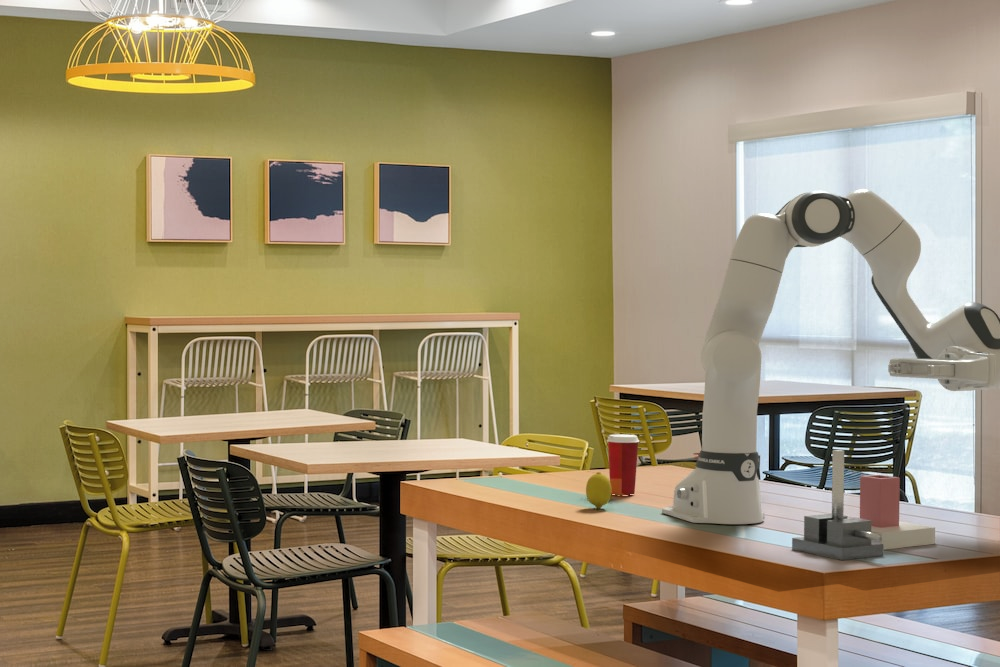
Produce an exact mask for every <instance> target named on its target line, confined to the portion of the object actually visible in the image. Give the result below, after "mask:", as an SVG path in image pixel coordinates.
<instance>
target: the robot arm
mask: <svg viewBox="0 0 1000 667" xmlns="http://www.w3.org/2000/svg"><path fill="white" fill-rule="evenodd" d="M838 238H842V239H844V240H846V242H848V243H850V244H852V245H853V247H854V248H855V249H856V251H857V252H858V253H859V254H860V255H861V256H862V257H863V258H864V259H865V261H866V262H867V264H868V266H869V267H870V270H871V273H872V276H871V279H870V280H871V285H872V288H873V289H874V292H875V294H876V295H877V297H878V299H879V300H880V302H881V303H882V304H883V306H884V307H885V309H886V311H887V312H888V313H889V315H890V316H891V318H892V319H893V320H894V322H895V323H896V325H897V326H898V328H899V329H900V330H901V333H902V334H903V335H904V337H905V338H906V340H907V341H908V343H909V344H910V347H911V348H912V351H913V352H914V355H915V358H914V357H913V358H907V357H906V358H904V357H903V358H901V357H900V358H899V357H898V358H897V357H896V358H894V357H893V358H891V359H890V360H889V364H888V367H887V368H888V371H887V372H888V373H889V376H890V377H894V378H895V377H896V378H914V379H915V378H916V379H933V380H934V379H936V380H937V381H938V383H939V384H940V385H941V386H942V387H943V388H944V389H946V390H947V391H950V392H965V391H967V392H968V391H969V392H972V391H977V390H980V391H994V390H1000V316H999V315H998V313H997V312H996V311H994V310H993V309H991V308H990V307H989V306H987V305H984V304H983V303H980V302H975V301H969V302H967V303H965V304H964V305H962V306H961V307H960V306H959V308H956V309H955V310H953V311H952V312H950V313H949V314H948V315H946V316H944V317H943V318H941V319H939V320H938V321H936V322H934V323H933V322H929V321H928V320H927V319H926V317H925V316H924V314H923V313H922V312H921V310H920V308H919V307H918V306H917V305H916V303H915V301H914V300H913V298H912V296H910V294H909V292H908V291H909V290H908V288H907V287H908V286H907V284H908V279H909V277H910V275H911V274H912V273H913V271H914V269H915V268H916V266H917V264H918V261H919V260H920V257H921V250H922V244H921V238H920V236H919V234H918V232H917V231H916V230H915V229H914V227H913V226H912V225H911V224H910V223H909V222H908V221H907V220H906V219H905V218H904V217H903V216H902V214H900V212H898V210H896V209H895V208H894V207H893V206H892V205H891V204H889V203H888V202H887V201H886V200H885V199H883V198H882V197H880V196H879V195H878V194H877V193H875V192H874V191H872V190H870V189H867V188H860V189H856V190H852V192H849V193H848V194H846V195H845V196H842V195H837V194H835V193H832V192H829V191H824V190H813V191H810V192H809V191H808V192H804V193H801V194H799V195H797V196H795V197H794V198H792V199H790V200H789V201H788V202H787V203H786V204H784V205H783V206H782V207H781V208H780V209H779V211H778V212H777V213H775V214H772V213H768V212H767V213H765V212H760V213H755V214H752V215H750V216H749V217H748V218H747V219H746V220H745V221H744V223H743V224H742V227H741V229H740V231H739V234H738V235H737V238H736V239H735V242H734V246H733V248H732V251H731V255H730V257H729V260H728V264H727V268H726V271H725V276H724V278H723V282H722V285H721V290H720V293H719V296H718V298H717V303H716V305H715V308H714V310H713V312H712V317H711V319H710V322H709V325H708V329H707V331H706V334H705V337H704V340H703V343H702V348H701V350H700V363H701V366H702V368H703V370H704V372H705V376H704V379H705V380H704V394H703V405H702V416H701V418H702V425H701V426H702V428H701V429H702V431H701V432H702V433H701V436H702V437H701V449H700V451H699V452H694V453H693V455H695V456H693V457H692V459H696V464H695V468H694V469H693V470H692V471H691V472H690V473H688V475H686V476H685V477H684V478H683V479H681V481H680V482H678V483H677V484H676V485H675V487H674V491H673V492H674V493H673V501H672V502H673V504H672V505H671V506H665V507H663V508H662V509H661V513H662V514H665V515H668V516H671V517H674V518H677V519H680V520H684V521H687V522H690V523H693V524H720V525H748V524H759V523H763V522H764V518H765V517H766V516H765V512H764V511H763V508H762V498H761V496H762V495H761V488H760V487H761V486H760V478H759V479H758V477H757V469H758V468H759V458H758V455H759V452H758V451H757V430H758V428H757V427H758V426H757V424H758V406H759V399H760V398H759V396H760V388H761V386H760V385H761V372H762V352H761V348H760V345H759V344H760V343H761V342H760V341H761V338H762V337H763V334H764V331H765V328H766V325H767V323H768V320H769V317H770V316H771V313H772V311H773V308H774V304H775V300H776V298H777V294H778V291H779V287H780V283H781V280H782V276H783V272H784V269H785V264H786V262H787V258H788V256H789V254H790V252H791V251H792V250H793V248H808V247H809V248H812V247H813V248H814V247H818V246H819V247H820V246H822V245H824V244H826V243H830V242H833V241H834V240H836V239H838ZM696 455H697V456H696Z"/></svg>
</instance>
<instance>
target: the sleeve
mask: <svg viewBox="0 0 1000 667" xmlns="http://www.w3.org/2000/svg"><path fill="white" fill-rule="evenodd" d="M859 478H860V479H859V480H860V481H859V518H860V519H865V520H871V526H874V527H879V528H882V527H892V526H899V521H900V497H901V496H900V494H901V493H900V490H901V488H900V484H901V480H900V479H901V477H897V476H890V475H886V474H885V475H883V474H869V475H866V474H865V475H860V477H859Z"/></svg>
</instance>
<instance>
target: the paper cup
mask: <svg viewBox="0 0 1000 667" xmlns="http://www.w3.org/2000/svg"><path fill="white" fill-rule="evenodd" d="M606 442H607V448H608V451H607V452H608V468H609V469H608V470H609V471H608V472H609V481H610V484H611V494H615V495H630V494H634V495H635V492H636V482H637V481H636V479H637V465H638V455H639V454H638V452H639V451H638V450H639V443H640V440H639V438H638V436H637V435H635V434H622V433H621V434H619V433H618V434H617V433H616V434H608V437H607V439H606Z"/></svg>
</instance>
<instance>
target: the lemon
mask: <svg viewBox="0 0 1000 667" xmlns="http://www.w3.org/2000/svg"><path fill="white" fill-rule="evenodd" d="M585 495H586V498H587V500H588V502H589V503H590V504H591V505H593V506H595V508H596V509H598V510H599V509H601V508H602V507H603V506H604V505H606V504H607V503H609V501H610V500H611V498H612V497H611V496H612V495H611V484H610V478H608V476H607V475H605V474H603V473H601V471H598V472H596V473H594V474H592V475H591V476H590V477H589V478H588V480H587V482H586V487H585Z"/></svg>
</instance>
